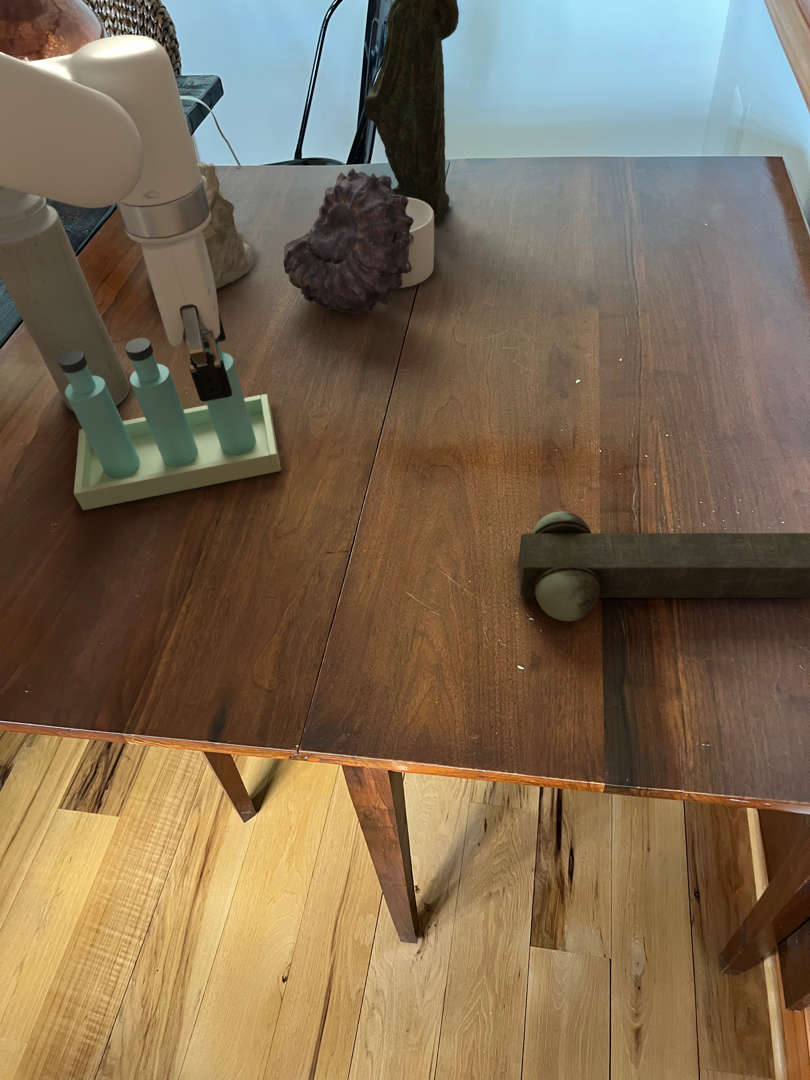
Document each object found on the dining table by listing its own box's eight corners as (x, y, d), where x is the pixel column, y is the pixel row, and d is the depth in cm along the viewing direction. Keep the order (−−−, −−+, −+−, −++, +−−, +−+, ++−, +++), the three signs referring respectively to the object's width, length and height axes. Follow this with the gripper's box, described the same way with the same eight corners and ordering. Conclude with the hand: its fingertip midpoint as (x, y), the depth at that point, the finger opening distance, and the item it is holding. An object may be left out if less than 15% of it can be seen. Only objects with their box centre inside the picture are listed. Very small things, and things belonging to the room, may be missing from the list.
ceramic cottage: (236, 225, 121) (206, 128, 109) (266, 278, 112) (237, 178, 100) (140, 257, 119) (99, 161, 107) (163, 314, 109) (120, 216, 97)
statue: (463, 196, 123) (462, -80, 96) (458, 226, 117) (455, -59, 90) (374, 196, 125) (348, -74, 98) (364, 226, 119) (334, -53, 92)
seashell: (326, 269, 111) (330, 355, 106) (259, 218, 102) (259, 308, 96) (435, 196, 101) (447, 286, 95) (372, 131, 91) (381, 227, 85)
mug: (450, 262, 110) (449, 207, 104) (407, 298, 105) (403, 242, 99) (376, 239, 116) (371, 185, 110) (332, 271, 111) (324, 217, 105)
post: (826, 537, 75) (515, 537, 76) (849, 497, 70) (519, 498, 72) (867, 635, 67) (522, 633, 69) (895, 597, 63) (526, 596, 65)
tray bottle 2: (162, 469, 85) (116, 360, 74) (162, 446, 88) (117, 337, 77) (198, 462, 86) (158, 353, 75) (197, 439, 88) (157, 330, 77)
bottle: (222, 458, 86) (184, 348, 75) (219, 434, 89) (183, 325, 77) (257, 451, 86) (225, 340, 75) (254, 428, 89) (223, 318, 78)
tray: (83, 510, 83) (73, 493, 81) (87, 445, 90) (79, 429, 88) (281, 471, 85) (276, 453, 83) (271, 410, 92) (266, 393, 90)
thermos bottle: (107, 365, 100) (8, 141, 78) (142, 389, 96) (49, 160, 75) (53, 397, 96) (-66, 171, 75) (88, 423, 92) (-27, 193, 71)
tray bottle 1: (103, 481, 85) (47, 373, 74) (104, 457, 87) (51, 349, 76) (140, 474, 85) (90, 365, 74) (140, 450, 88) (92, 341, 77)
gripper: (122, 171, 72) (175, 328, 85) (117, 264, 61) (179, 429, 74) (202, 158, 72) (243, 316, 85) (212, 248, 61) (257, 414, 74)
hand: (213, 368), depth 80 cm, fingers open, 9 cm apart
